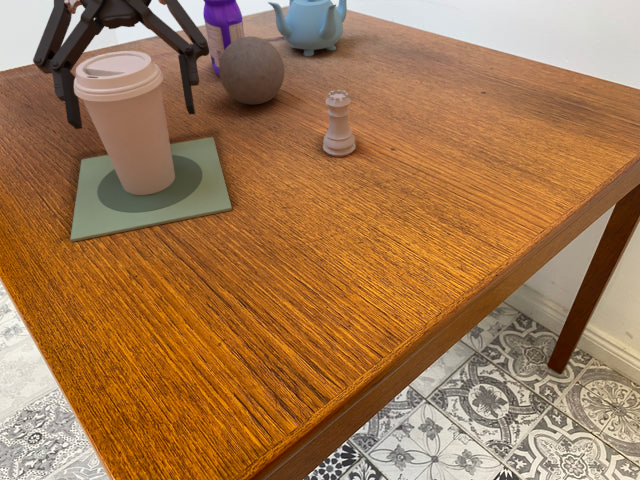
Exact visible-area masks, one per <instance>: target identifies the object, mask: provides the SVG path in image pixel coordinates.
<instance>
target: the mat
mask: <svg viewBox="0 0 640 480" xmlns="http://www.w3.org/2000/svg"><path fill="white" fill-rule="evenodd" d="M170 147H171V153H172V160H173V166H174V172H175V179H174V181H173V183H172V184H171V185H170V186H169V187H167V188H166V189H164V190H162V191H160V192H157V193H154V194H149V195H134V194H130V193H128V192H126V191H125V190H124V188H123V186H122V184H121V182H120V180H119V177H118V175H117V173H116V171H115V169H114V166H113V164H112V162H111V160H110V158H109V156H108V154H105V155H100V156H92V157H88V158H82V159H81V160H80V168H79V176H78V182H77V187H76V197H75V203H74V210H73V218H72V224H71V231H70V238H69V240H70V242H71V243H74V242H75V243H76V242H80V241H85V240H90V239H95V238H100V237H105V236H111V235H115V234H119V233H125V232H131V231H135V230H140V229H144V228H145V229H146V228H149V227H155V226H160V225H165V224H170V223H175V222H180V221H185V220H189V219H190V220H191V219H195V218H201V217H206V216H210V215H215V214H221V213H226V212H230V211H231V212H232V211H233V208H232V204H231V199H230V196H229V192H228V188H227V184H226V181H225V177H224V171H223V168H222V165H221V162H220V158H219V154H218V150H217V145H216V142H215V138H214V136H210V137H204V138H199V139H198V138H197V139H193V140H185V141H181V142H175V143H170Z"/></svg>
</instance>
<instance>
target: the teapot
mask: <svg viewBox="0 0 640 480" xmlns="http://www.w3.org/2000/svg"><path fill="white" fill-rule="evenodd" d="M267 4H269V5H270V6H271V7H272V8H273V10H274V14H275V25H276V29H277V31H278V33H280V34H281V36H282V37H283V38H284V40H285V41H286V43H288V44H289V45H290V46H291V47H290V48H292V49H298V50H303V56H305V57H311V56H314V55H315V50H316V51H317V50H323V49H325V50H326V51H335V50H337V47H336V44H337V43H338V41H339V40H340V39H341V38H342V36H343V33H344V26H343V23H344V22H345V20H346V17H347V14H348V12H347V11H348V10H347V9H348V6H347V5H348V4H347V0H338V4H334V3H333V2H332V1H331V0H289V3H288V5H289V6H288V10H287V12H286V13H285V15H284V13H283V9H282V7H281V5H280V4H279V3H277V2H271V1H268V2H267ZM336 6H337V7H336ZM284 16H285V17H284Z"/></svg>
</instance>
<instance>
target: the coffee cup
mask: <svg viewBox="0 0 640 480" xmlns="http://www.w3.org/2000/svg"><path fill="white" fill-rule="evenodd" d="M163 81H164V74H163V72H162V70H161V68H160V67H159V65H158V64H157V63H155V62H154V61H153V58H152V57H151V56H150V55H149V54H147V53H145V52H142V51H137V50H120V51H112V52H111V51H110V52H107V53H102V54H98V55H95V56H92V57H90V58H87V59H85V60H84V61H82V62H81V63H79V64H78V65H77V66H76V68H75V80H74V93H75V94H76V96H78V99H81V100H82V102H83V104H84V106H85V108H86V111H87V112H88V114H89V117H90V119H91V121H92V123H93V125H94V127H95V130H96V132H97V134H98V137H99V139H100V140H101V142H102V145H103V147H104V149H105V152H106V153H107V155H108V156H109V158H110V160H111V162H112V164H113V166H114V169H115V171H116V173H117V175H118V177H119V180H120V182H121V184H122V186H123V188H124V190H125V191H126V192H128V193H130V194H134V195H149V194H154V193H157V192H160V191H162V190H164V189H166V188H167V187H169V186H170V185H171V184H172V183H173V181H174V179H175V172H174V166H173V160H172V153H171V147H170V144H171V141H170V135H169V130H168V123H167V118H166V117H167V116H166V111H165V110H166V109H165V104H164V97H163V92H162V85H161V83H163Z"/></svg>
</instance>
